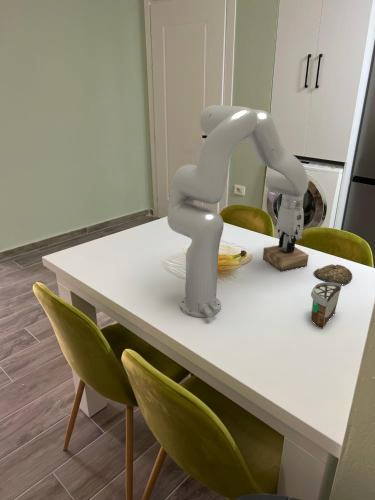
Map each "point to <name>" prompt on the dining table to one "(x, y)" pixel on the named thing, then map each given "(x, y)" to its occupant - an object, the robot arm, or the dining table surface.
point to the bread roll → (334, 274)
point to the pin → (285, 243)
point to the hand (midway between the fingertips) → (286, 248)
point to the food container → (324, 302)
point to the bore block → (285, 258)
